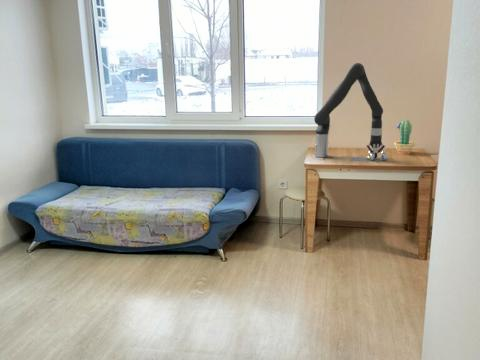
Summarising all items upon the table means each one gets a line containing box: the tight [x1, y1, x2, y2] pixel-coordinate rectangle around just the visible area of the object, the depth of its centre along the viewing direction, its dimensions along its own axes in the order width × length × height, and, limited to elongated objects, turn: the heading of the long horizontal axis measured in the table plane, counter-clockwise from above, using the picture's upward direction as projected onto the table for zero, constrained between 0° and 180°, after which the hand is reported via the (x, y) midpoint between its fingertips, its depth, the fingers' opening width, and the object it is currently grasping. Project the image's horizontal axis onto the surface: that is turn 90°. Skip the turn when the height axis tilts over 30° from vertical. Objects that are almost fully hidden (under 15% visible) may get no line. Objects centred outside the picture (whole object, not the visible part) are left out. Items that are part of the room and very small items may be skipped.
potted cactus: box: [393, 119, 416, 155], centre depth 334 cm, size 15×15×25 cm
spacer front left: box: [369, 153, 375, 162], centre depth 314 cm, size 3×3×5 cm
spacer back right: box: [380, 150, 387, 159], centre depth 321 cm, size 3×3×5 cm
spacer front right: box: [382, 152, 389, 162], centre depth 313 cm, size 3×3×5 cm
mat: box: [349, 156, 388, 162], centre depth 319 cm, size 25×12×1 cm, turn 81°
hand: (375, 158), depth 318 cm, fingers closed
